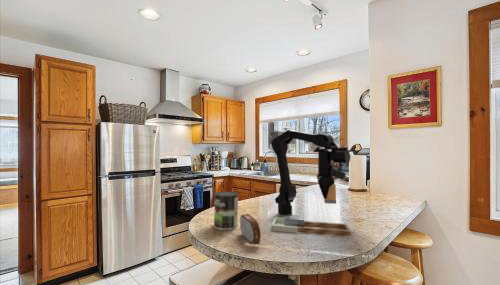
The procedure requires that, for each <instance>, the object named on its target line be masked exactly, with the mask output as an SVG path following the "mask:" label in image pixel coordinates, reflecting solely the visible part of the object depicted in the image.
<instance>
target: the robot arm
mask: <svg viewBox="0 0 500 285" xmlns="http://www.w3.org/2000/svg"><path fill="white" fill-rule="evenodd" d="M294 139H295V140H299V141H303V142H309V143H310V144H313V145H314V146H317V147H316V148H315V149H314V150H313V152H314V153H317V155H318V156H317V162H318V163H317V168H318V171H317V174H316V179H317V183H318V188H319V189H320V191H321V194H322V197H323V200H324V199H327V195H328V191H329V187H330V186H332V185H333V184H335V179H334V177H335V178H338V179H340V180H342V181H344V179H345V176H346V172H344V171H342V168H339V167H337V168H334V167H333V165H332V164H333V163H334V164H349V163H350V161H351V154H350V153H351V152H350V151H349V147H345V146H344V147H343V146H342V147H339V146H338V145H337V144H336V143H335V141H334V138H333V136H332V135H330V134H325V133H317V134H316V133H315V134H312V133H308V132H303V131H296V130H294V129H287V130H286V131H285V132H283V133H281V134H280V135H278V136H277V137H275V138H273V139H272V140H271V143H270V144H271V149H272V151H273V152H274V154H275V155H276V160H277V168H278V173H279V179H280V186H279V191H278V193H279V194H278V195H277V196H276V198H274V202H275V203H276V204H277V215H281V216H290V215H292V216H293V205H292V203H293V202H294V200H295V198H296V197H297V193H298V192H297V187H296V184H293V183H292V182H291V181H292V180H291V176H290V169H289V163H288V159H287V158H288V157H287V152H288V148H289V147H288V146H289V145H290V144H291V142H292V141H293V140H294ZM332 162H333V163H332Z"/></svg>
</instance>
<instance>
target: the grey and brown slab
mask: <svg viewBox="0 0 500 285" xmlns="http://www.w3.org/2000/svg"><path fill="white" fill-rule="evenodd" d="M239 222H240V224H239V225H240V231H241V234H242V236H243V237H244V238H245V240H247V239H248V241H249V242H250V245H256V244H259V243H260V241H261V229H260V226H259V225H260V224H259V222H258V220H257V219H256V218H254V217H253V216H252V215H250V214H249V213H245V214H241V215H240V216H239Z"/></svg>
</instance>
